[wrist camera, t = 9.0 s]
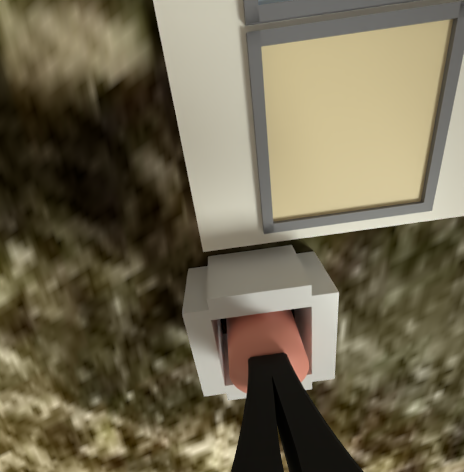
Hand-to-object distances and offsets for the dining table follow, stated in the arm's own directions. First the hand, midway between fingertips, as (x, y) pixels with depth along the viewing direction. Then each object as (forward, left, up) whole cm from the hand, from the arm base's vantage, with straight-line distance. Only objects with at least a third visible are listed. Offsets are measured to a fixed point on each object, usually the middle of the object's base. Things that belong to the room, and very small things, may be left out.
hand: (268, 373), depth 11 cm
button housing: (0, 0, -4) cm, 4 cm away
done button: (0, 0, -4) cm, 4 cm away
